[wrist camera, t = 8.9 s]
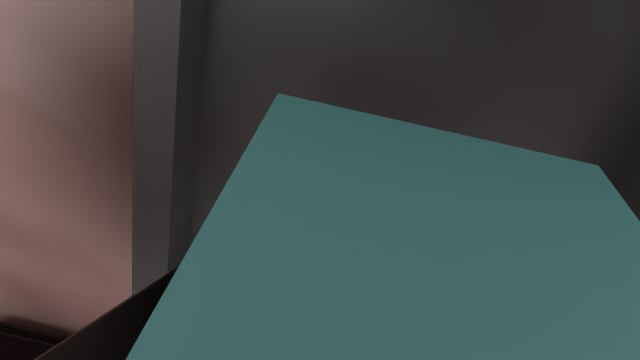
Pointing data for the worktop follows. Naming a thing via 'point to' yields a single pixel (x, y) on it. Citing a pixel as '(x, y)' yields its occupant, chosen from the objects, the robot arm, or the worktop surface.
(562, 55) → the parts tray
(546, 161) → the teal block
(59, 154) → the worktop surface
